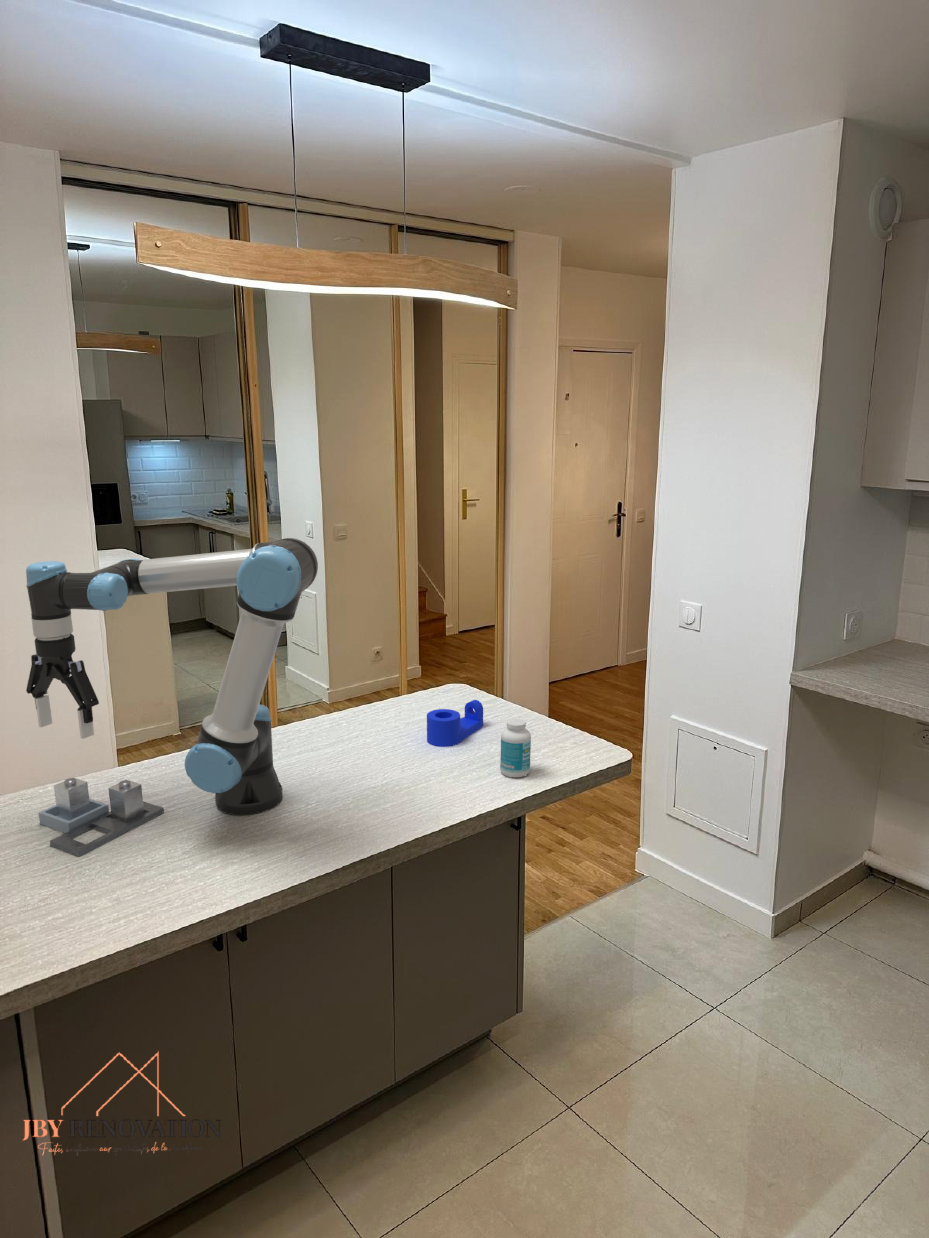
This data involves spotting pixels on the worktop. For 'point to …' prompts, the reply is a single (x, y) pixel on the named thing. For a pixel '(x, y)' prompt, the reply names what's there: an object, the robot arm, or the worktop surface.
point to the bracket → (453, 724)
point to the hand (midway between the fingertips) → (66, 730)
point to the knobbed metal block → (72, 798)
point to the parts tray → (57, 823)
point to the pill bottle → (515, 749)
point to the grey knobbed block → (126, 801)
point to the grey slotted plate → (103, 825)
